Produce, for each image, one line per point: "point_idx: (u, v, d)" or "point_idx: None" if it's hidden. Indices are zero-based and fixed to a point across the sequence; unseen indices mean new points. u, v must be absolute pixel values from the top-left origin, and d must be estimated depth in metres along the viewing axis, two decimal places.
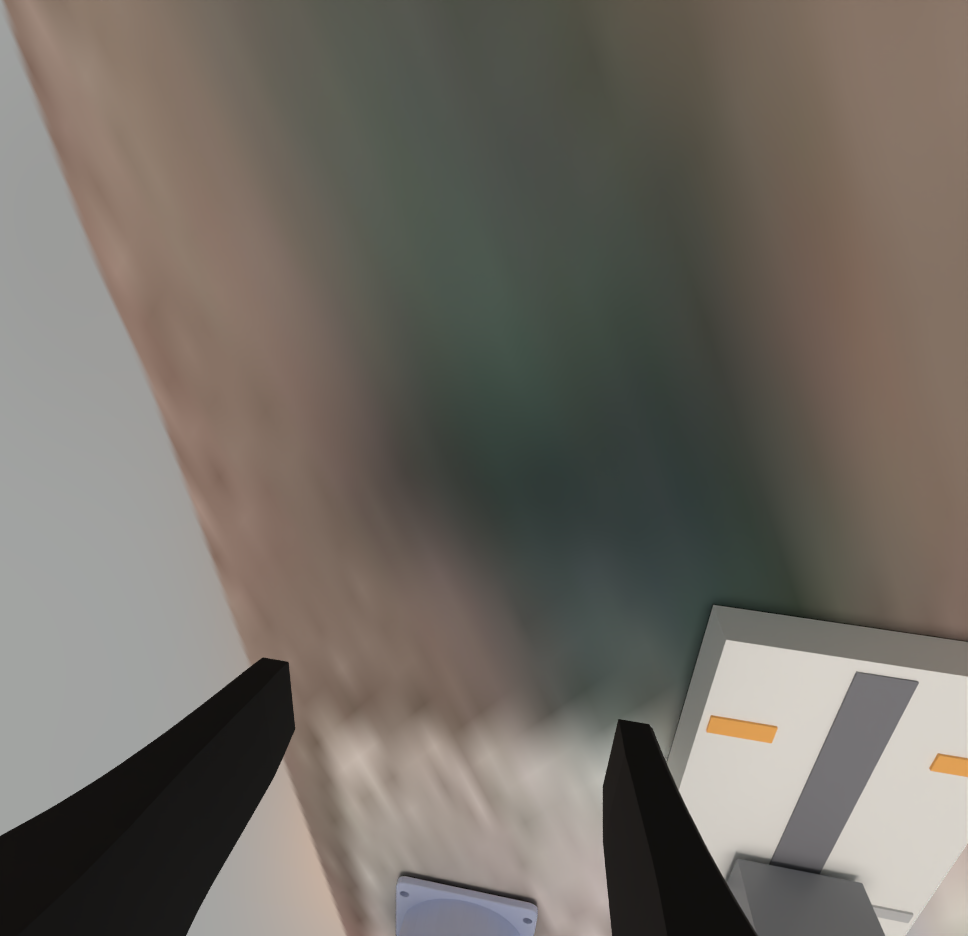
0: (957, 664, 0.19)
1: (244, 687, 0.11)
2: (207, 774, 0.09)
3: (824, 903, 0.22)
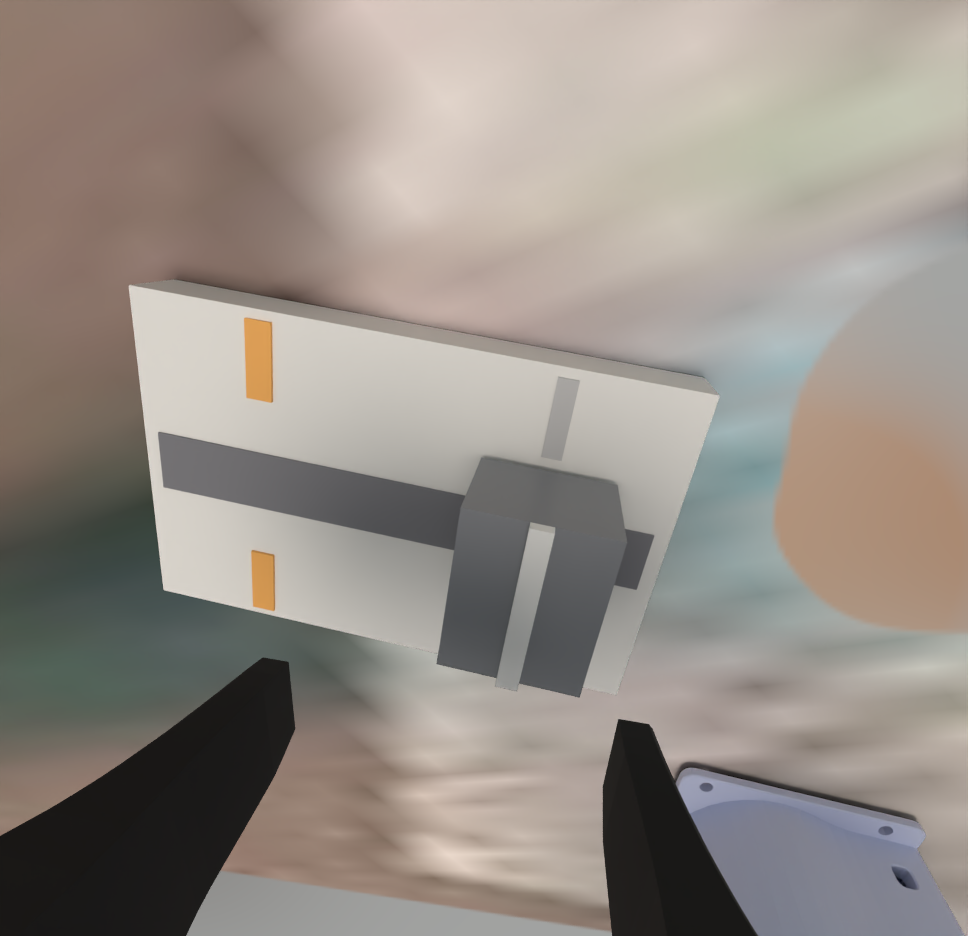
0: None
1: (244, 687, 0.11)
2: (207, 774, 0.09)
3: None
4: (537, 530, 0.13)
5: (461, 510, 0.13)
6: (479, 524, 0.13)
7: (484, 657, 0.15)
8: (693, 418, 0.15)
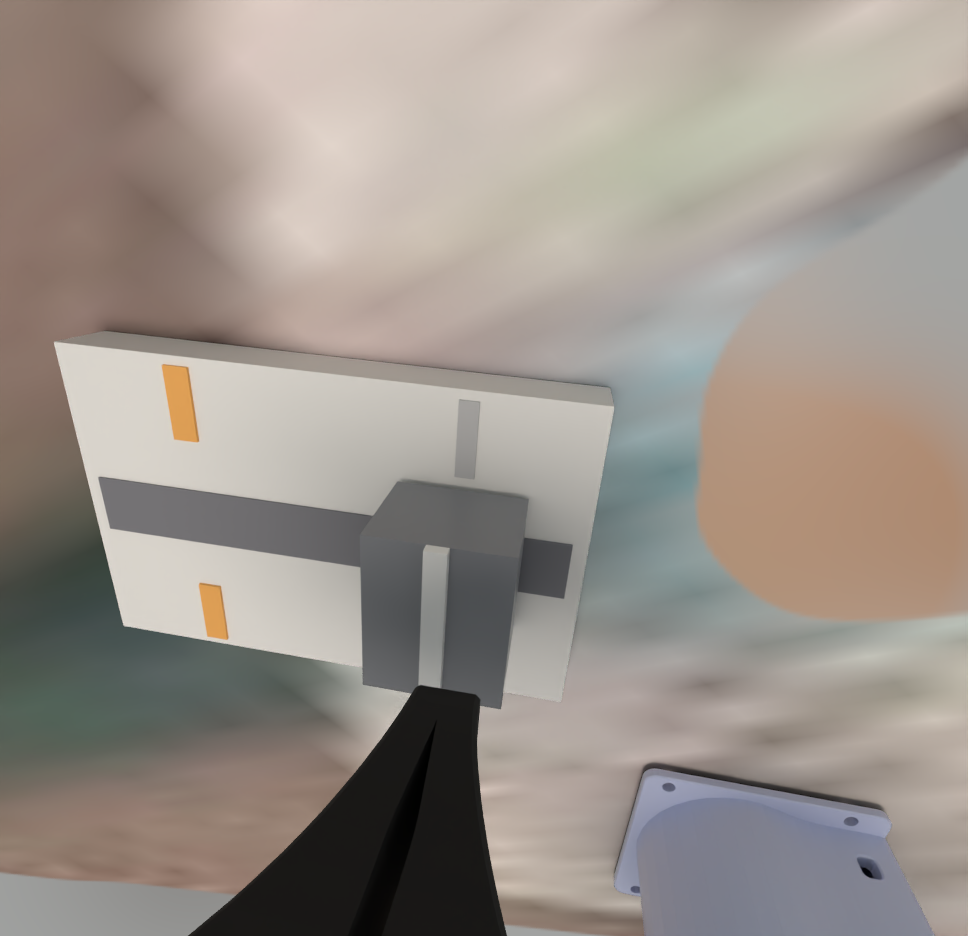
0: None
1: (418, 718, 0.10)
2: (404, 814, 0.09)
3: None
4: (431, 552, 0.13)
5: (360, 537, 0.14)
6: (380, 549, 0.14)
7: (405, 675, 0.15)
8: (592, 430, 0.15)
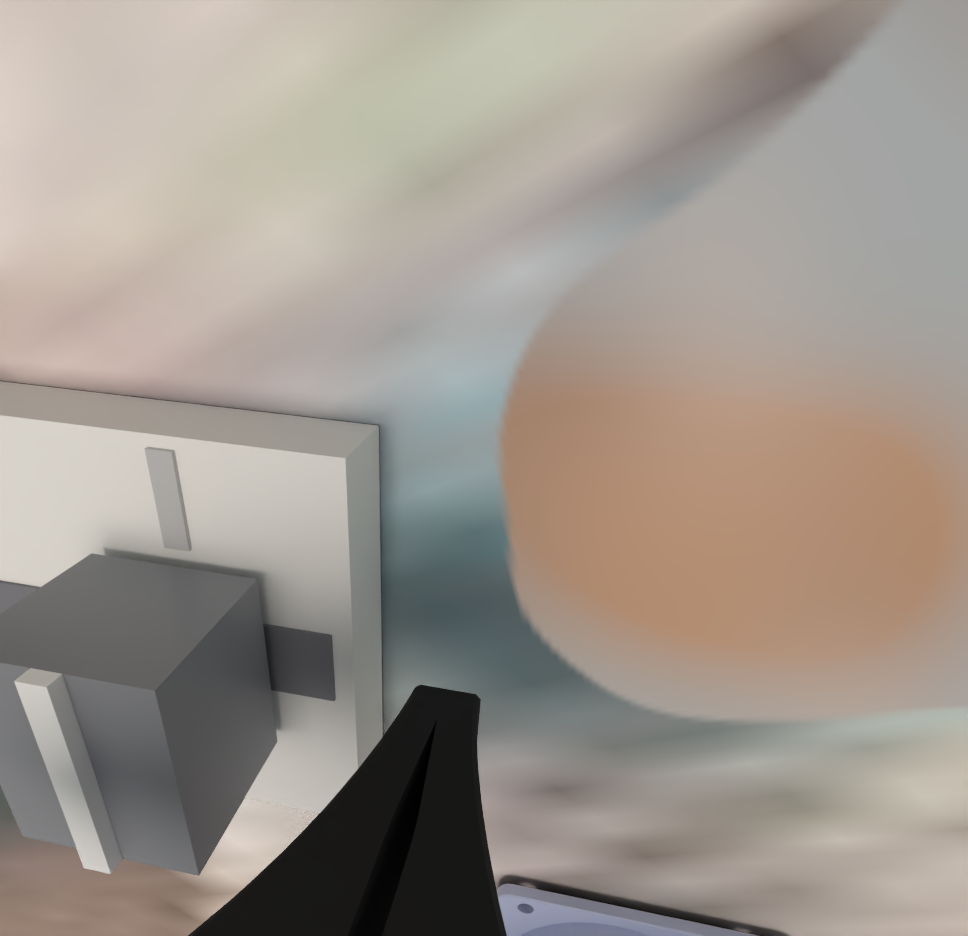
0: None
1: (418, 718, 0.10)
2: (405, 814, 0.09)
3: None
4: (27, 682, 0.09)
5: None
6: None
7: (69, 829, 0.11)
8: (324, 489, 0.11)
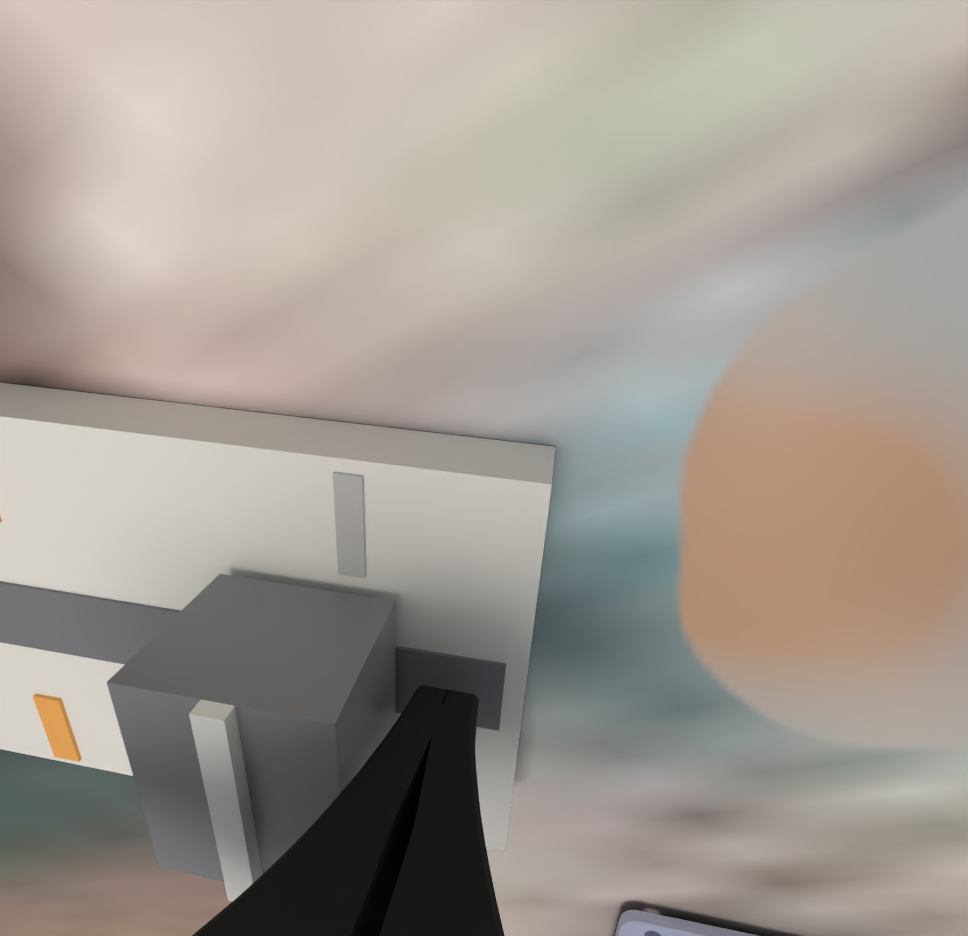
0: None
1: (420, 719, 0.10)
2: (407, 814, 0.09)
3: None
4: (201, 715, 0.09)
5: (109, 685, 0.09)
6: (138, 703, 0.09)
7: (212, 860, 0.11)
8: (523, 515, 0.11)
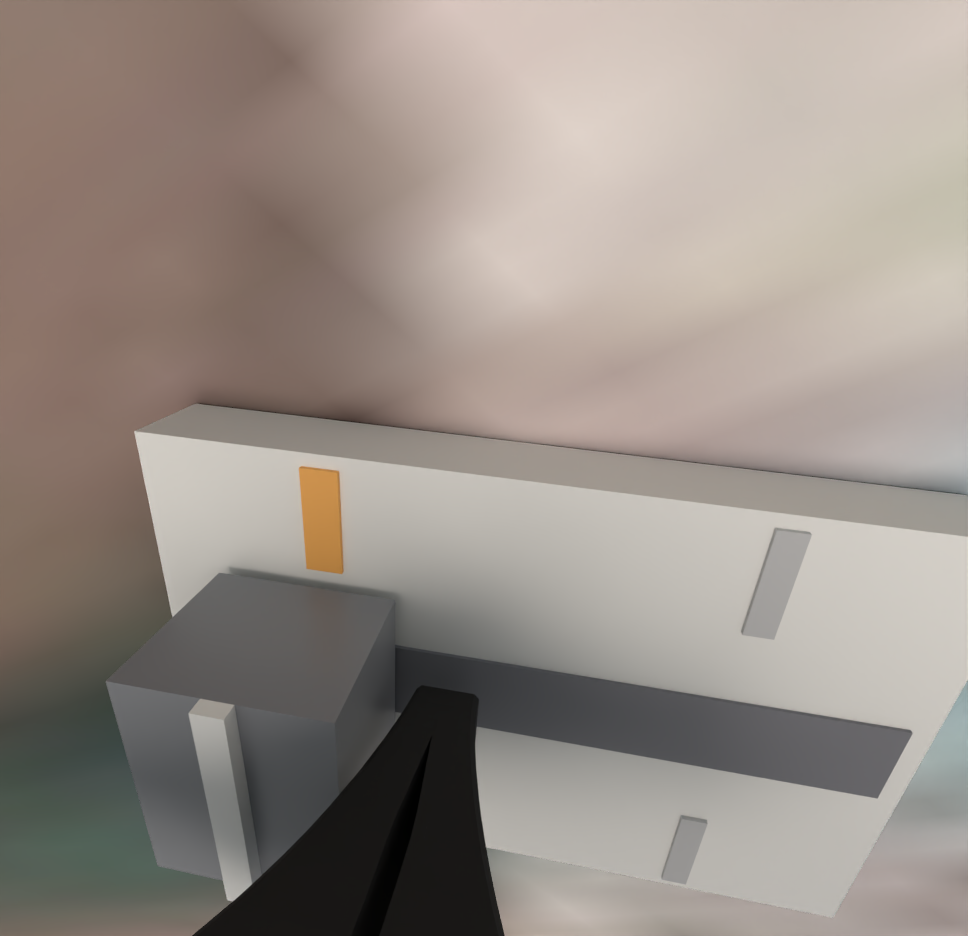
0: None
1: (420, 719, 0.10)
2: (407, 814, 0.09)
3: None
4: (201, 715, 0.09)
5: (108, 684, 0.09)
6: (138, 702, 0.09)
7: (211, 859, 0.11)
8: None
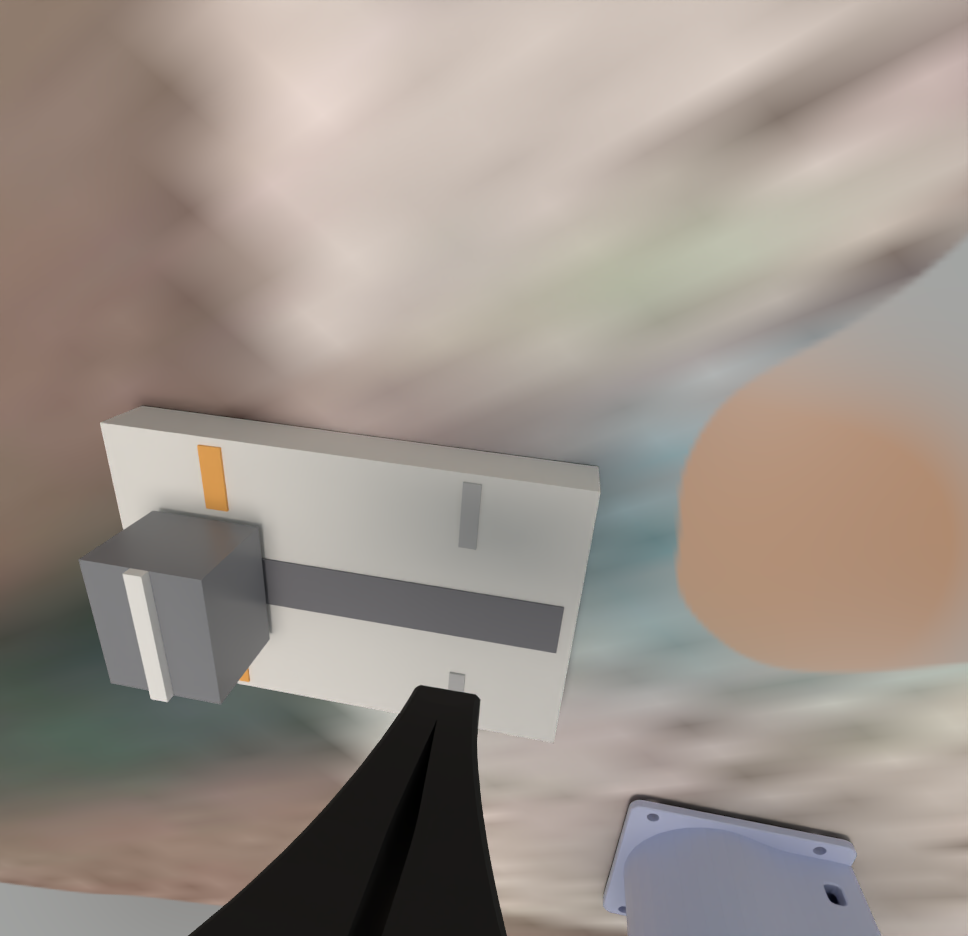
0: None
1: (418, 718, 0.10)
2: (405, 814, 0.09)
3: None
4: (129, 574, 0.16)
5: (80, 561, 0.17)
6: (96, 572, 0.17)
7: (142, 675, 0.18)
8: (581, 510, 0.17)
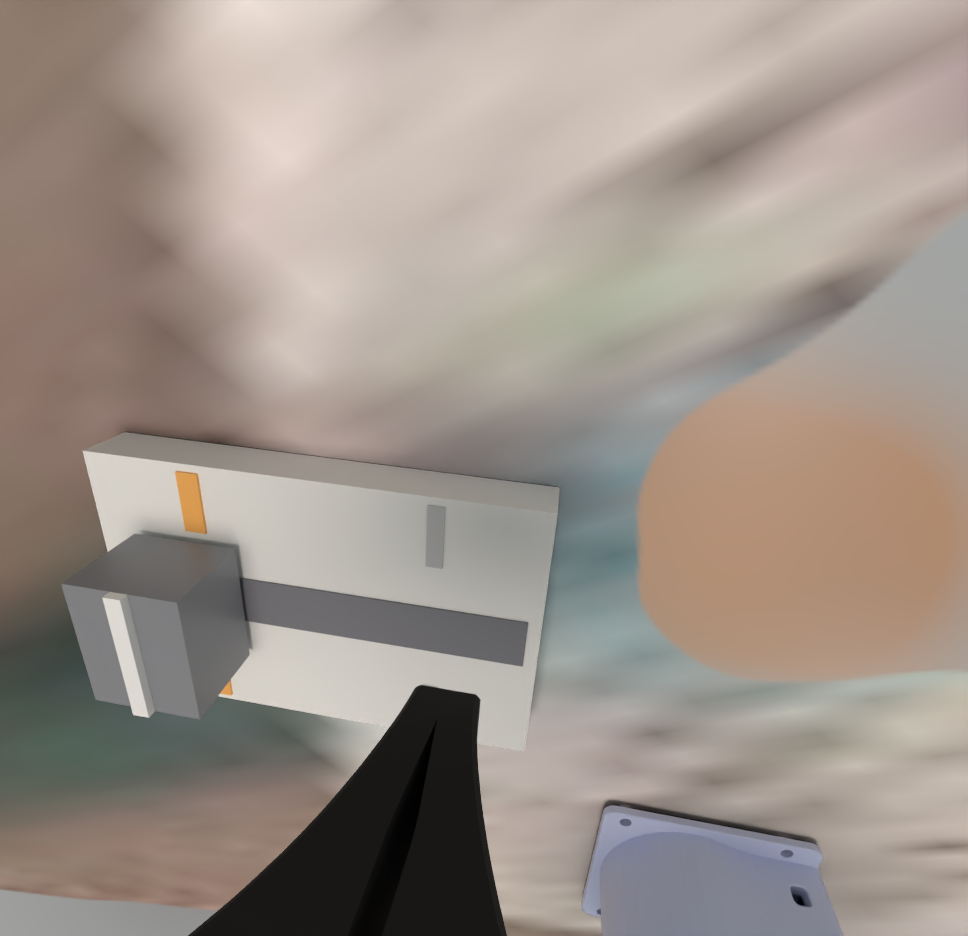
0: None
1: (418, 718, 0.10)
2: (404, 814, 0.09)
3: None
4: (108, 598, 0.17)
5: (62, 585, 0.17)
6: (78, 595, 0.17)
7: (124, 692, 0.19)
8: (540, 531, 0.18)
